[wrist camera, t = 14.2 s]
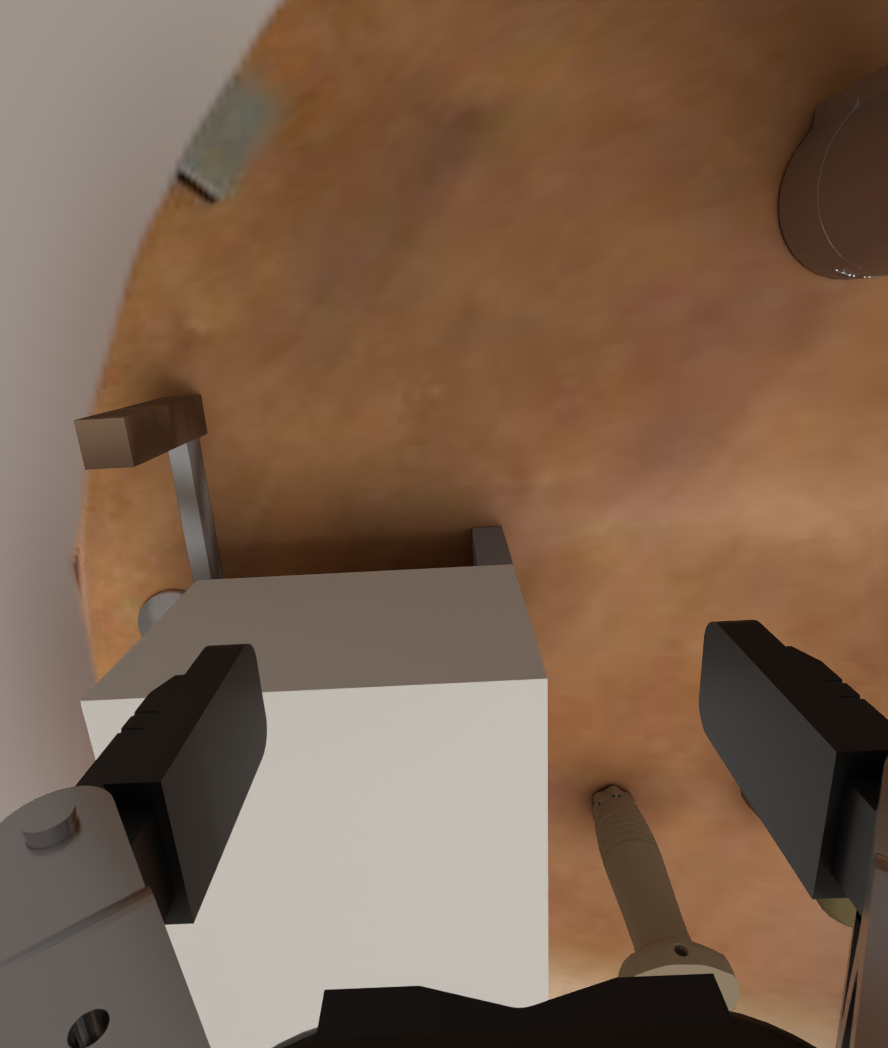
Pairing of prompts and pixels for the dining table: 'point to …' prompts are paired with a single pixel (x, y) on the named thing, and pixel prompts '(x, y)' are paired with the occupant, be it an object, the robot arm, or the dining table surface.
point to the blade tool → (149, 435)
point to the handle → (650, 898)
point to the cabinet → (367, 791)
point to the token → (157, 608)
